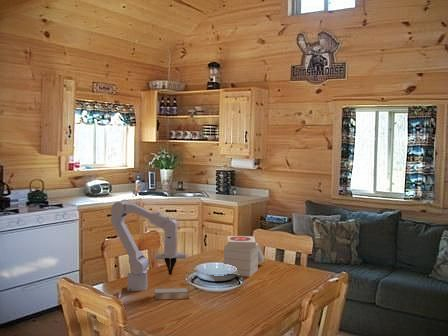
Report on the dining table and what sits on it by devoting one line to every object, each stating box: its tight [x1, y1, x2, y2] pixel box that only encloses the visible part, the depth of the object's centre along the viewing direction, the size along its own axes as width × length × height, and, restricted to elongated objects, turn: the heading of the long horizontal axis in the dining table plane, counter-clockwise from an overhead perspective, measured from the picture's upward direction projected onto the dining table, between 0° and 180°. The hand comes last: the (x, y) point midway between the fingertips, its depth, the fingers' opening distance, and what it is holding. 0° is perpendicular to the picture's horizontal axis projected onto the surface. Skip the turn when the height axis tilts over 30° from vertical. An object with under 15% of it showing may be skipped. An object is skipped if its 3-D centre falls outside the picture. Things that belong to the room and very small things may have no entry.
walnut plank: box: [154, 292, 190, 301], centre depth 214 cm, size 15×9×2 cm, turn 99°
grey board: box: [154, 287, 188, 295], centre depth 222 cm, size 15×6×2 cm, turn 99°
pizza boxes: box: [223, 235, 265, 278], centre depth 266 cm, size 19×30×18 cm, turn 160°
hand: (170, 274), depth 221 cm, fingers closed
